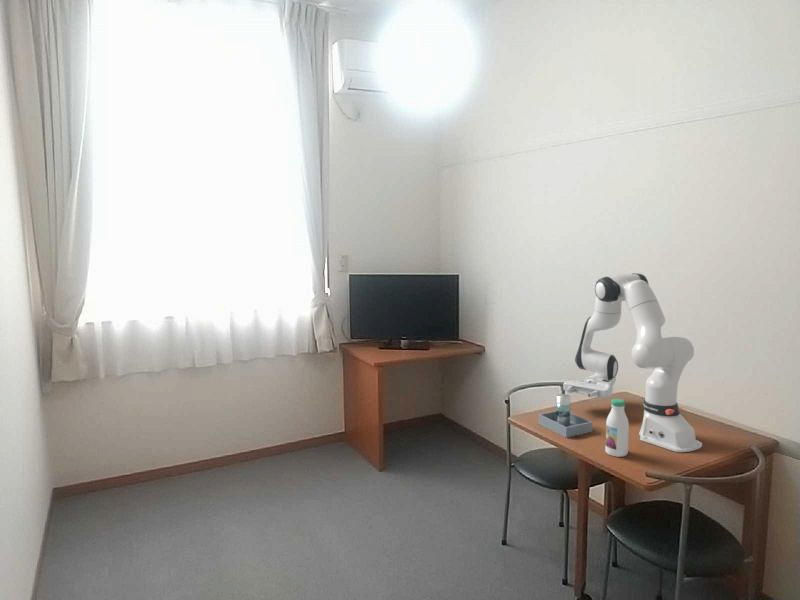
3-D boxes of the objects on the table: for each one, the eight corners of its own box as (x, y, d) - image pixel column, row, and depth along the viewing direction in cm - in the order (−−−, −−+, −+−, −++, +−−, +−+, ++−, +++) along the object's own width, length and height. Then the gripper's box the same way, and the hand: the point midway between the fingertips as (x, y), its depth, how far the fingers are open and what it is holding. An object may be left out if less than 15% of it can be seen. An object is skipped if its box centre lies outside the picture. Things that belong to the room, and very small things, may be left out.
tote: (592, 431, 223) (592, 422, 223) (566, 437, 218) (566, 427, 217) (563, 418, 239) (563, 409, 238) (538, 423, 233) (538, 414, 233)
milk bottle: (624, 448, 206) (626, 396, 203) (630, 457, 199) (632, 403, 196) (602, 448, 207) (604, 396, 204) (608, 457, 200) (610, 403, 197)
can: (573, 425, 229) (573, 396, 228) (562, 427, 227) (562, 398, 225) (563, 420, 234) (563, 393, 233) (553, 423, 232) (553, 395, 230)
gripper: (571, 375, 254) (556, 381, 244) (615, 382, 240) (601, 389, 230) (571, 388, 255) (556, 395, 245) (615, 396, 241) (601, 404, 231)
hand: (579, 393), depth 237 cm, fingers open, 8 cm apart
